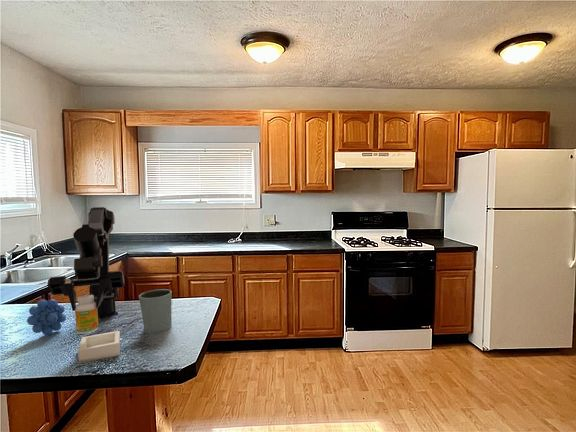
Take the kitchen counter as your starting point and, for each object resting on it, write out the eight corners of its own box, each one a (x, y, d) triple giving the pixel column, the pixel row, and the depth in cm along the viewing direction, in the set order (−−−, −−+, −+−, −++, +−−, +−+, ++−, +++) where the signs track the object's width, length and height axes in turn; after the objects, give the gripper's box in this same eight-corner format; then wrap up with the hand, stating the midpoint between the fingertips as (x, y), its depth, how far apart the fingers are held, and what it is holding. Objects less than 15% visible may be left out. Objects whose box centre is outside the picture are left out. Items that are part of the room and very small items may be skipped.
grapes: (37, 344, 104) (34, 305, 103) (24, 340, 107) (21, 303, 106) (74, 329, 115) (72, 294, 114) (61, 327, 117) (59, 292, 116)
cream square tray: (82, 348, 100) (82, 337, 99) (120, 341, 104) (119, 330, 104) (78, 363, 91) (78, 350, 91) (119, 355, 95) (119, 342, 95)
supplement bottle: (78, 336, 92) (76, 300, 92) (74, 330, 96) (72, 296, 96) (100, 330, 96) (98, 296, 95) (96, 325, 100) (94, 292, 99)
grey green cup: (179, 327, 114) (177, 292, 113) (149, 337, 106) (147, 299, 106) (164, 320, 121) (162, 287, 120) (135, 329, 113) (133, 293, 113)
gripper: (46, 248, 95) (36, 299, 85) (120, 243, 102) (119, 289, 92) (56, 270, 103) (48, 319, 93) (124, 264, 110) (123, 309, 100)
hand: (85, 308), depth 95 cm, fingers closed on supplement bottle, 5 cm apart
